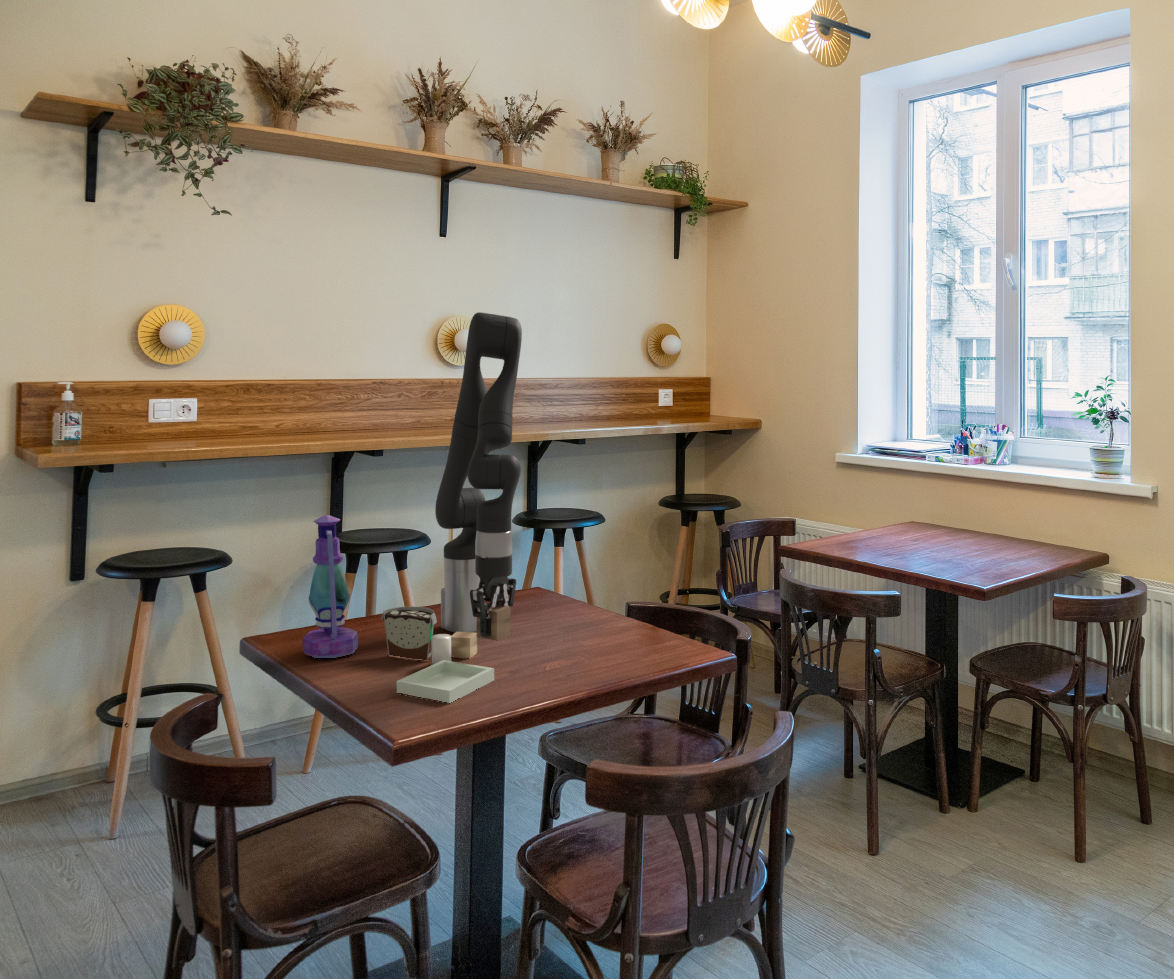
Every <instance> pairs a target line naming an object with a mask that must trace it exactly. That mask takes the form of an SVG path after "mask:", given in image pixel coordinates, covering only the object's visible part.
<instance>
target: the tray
mask: <svg viewBox="0 0 1174 979" xmlns="http://www.w3.org/2000/svg"><path fill="white" fill-rule="evenodd" d="M494 681H495V668H494V667H488V666H482V665H476V664H472V663H471V664H470V663H465V662H457V661H452V660H451V661H446V660H443V661H440V662H438V663H436V664H434V665H432V664H431V665H430V666H427V667H426V668H423V669H420V670H418V671H416V672H414V673H411V674H410V675H408V676H406V677H403V678H401V679H398V680H396V694H397V693H404V694H408V695H413V696H417V697H422V698H421V699H423V698H429V699H433V700H438V701H437V702H439V701H442V702H441V703H444V702H447V703H446V704H449V703H450V704H452V703H454V702H456V701H457V699H458V698H460V699H461V698H464V697H465V696H467V695H469V694H471V693H472V692H475V691H477V690H478V688H479V689H480V688H483V687H485V686H486V685H488V684H490V683H491V682H494ZM476 689H477V690H476ZM417 697H416V698H417ZM433 700H432V701H433ZM455 700H456V701H455ZM458 700H459V699H458ZM453 701H454V702H453ZM451 702H452V703H451Z"/></svg>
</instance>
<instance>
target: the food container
mask: <svg viewBox="0 0 1174 979" xmlns="http://www.w3.org/2000/svg"><path fill="white" fill-rule="evenodd" d="M380 620H381V621H384V623H383V624H384V630H385V640H386V646H387V654H388V655H393V656H400V657H406V658H412V659H422V660H429V659H430V658H431V659H432V644H431V637H432V636H433V635H434V625H436V624H437V616H436V613H435V611H434V610H433V609H432V608H428V607H423V606H398V607H392V608H388V609H384V610H383V612H382V614H381V619H380ZM431 659H430V660H431ZM430 660H429V661H430Z"/></svg>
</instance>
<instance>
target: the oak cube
mask: <svg viewBox="0 0 1174 979" xmlns="http://www.w3.org/2000/svg"><path fill="white" fill-rule="evenodd" d="M477 653H478V637H477V632H453V634H452V635H451V657H459V658H458V659H467V658H469V660H470V658H471V657H472V658H473V657H474V656H475V655H477ZM472 658H471V659H472Z"/></svg>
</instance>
